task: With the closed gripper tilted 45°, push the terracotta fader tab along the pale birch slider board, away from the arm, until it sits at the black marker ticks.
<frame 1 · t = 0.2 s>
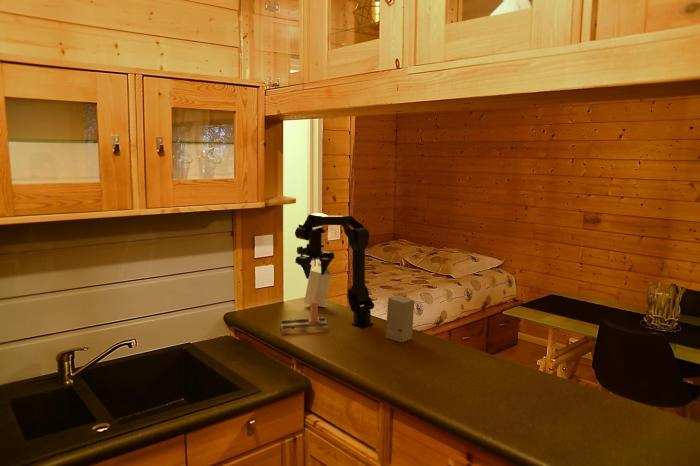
hand: (315, 276, 237), 16 cm above the worktop, tool pointing down, fingers open, 9 cm apart
fader tab: (313, 312, 216), point 7 cm above the worktop, slide at 0.0 cm
skincare box: (399, 338, 205), on the worktop
slider board: (304, 328, 216), on the worktop
milk carton: (314, 305, 245), point 1 cm above the worktop, touching gripper
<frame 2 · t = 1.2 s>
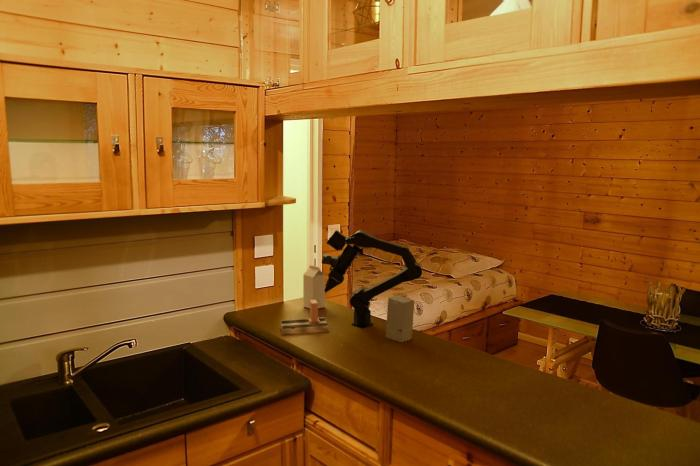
hand: (325, 288, 219), 15 cm above the worktop, tool tilted 35°, fingers open, 9 cm apart
milk carton: (314, 307, 245), on the worktop
everything else where it was.
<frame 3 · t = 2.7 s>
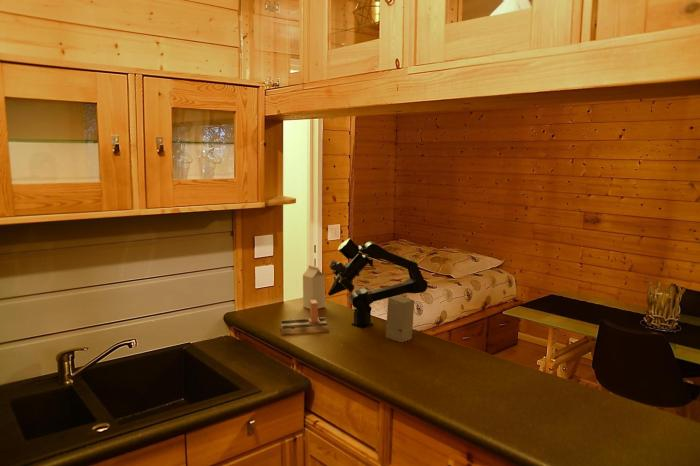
hand: (328, 294, 216), 13 cm above the worktop, tool tilted 45°, fingers closed
nothing on the worktop moved.
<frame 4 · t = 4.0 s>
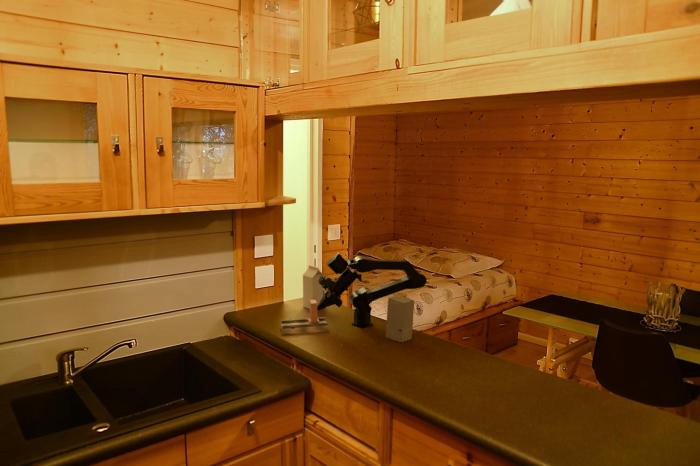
hand: (317, 309, 216), 8 cm above the worktop, tool tilted 45°, fingers closed, pressing on fader tab
fader tab: (313, 312, 216), point 7 cm above the worktop, slide at 0.2 cm, touching gripper
everything else where it was.
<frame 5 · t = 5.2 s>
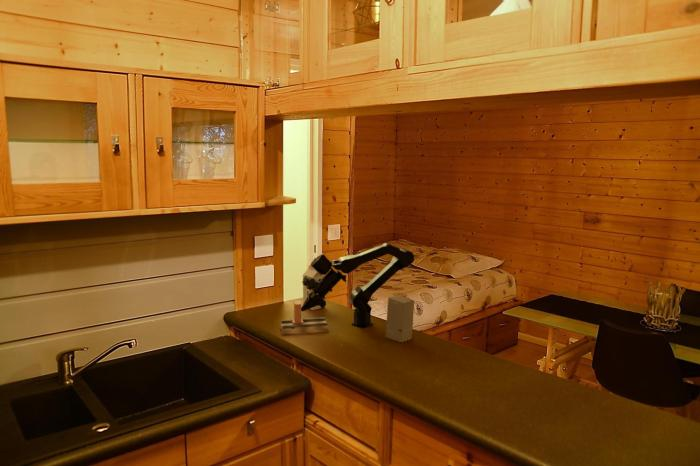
hand: (301, 310, 215), 8 cm above the worktop, tool tilted 45°, fingers closed, pressing on fader tab
fader tab: (297, 313, 215), point 7 cm above the worktop, slide at 6.6 cm, touching gripper
everything else where it was.
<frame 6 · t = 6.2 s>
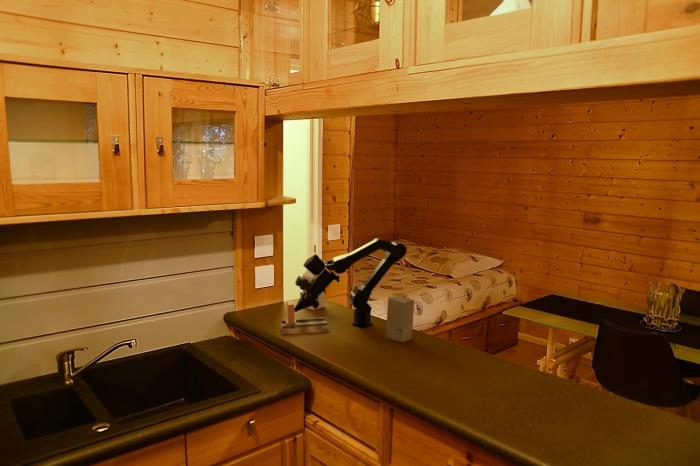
hand: (294, 311, 214), 8 cm above the worktop, tool tilted 45°, fingers closed, pressing on fader tab
fader tab: (290, 313, 214), point 7 cm above the worktop, slide at 9.3 cm, touching gripper
everything else where it was.
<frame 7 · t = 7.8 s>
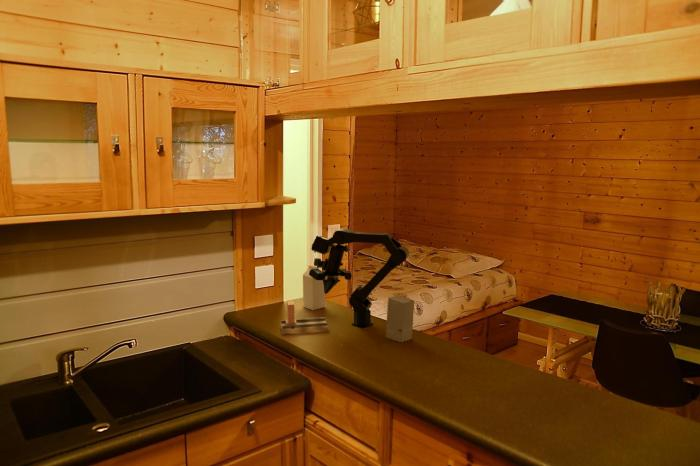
hand: (325, 293, 223), 12 cm above the worktop, tool tilted 15°, fingers closed
fader tab: (290, 313, 214), point 7 cm above the worktop, slide at 9.3 cm
everything else where it was.
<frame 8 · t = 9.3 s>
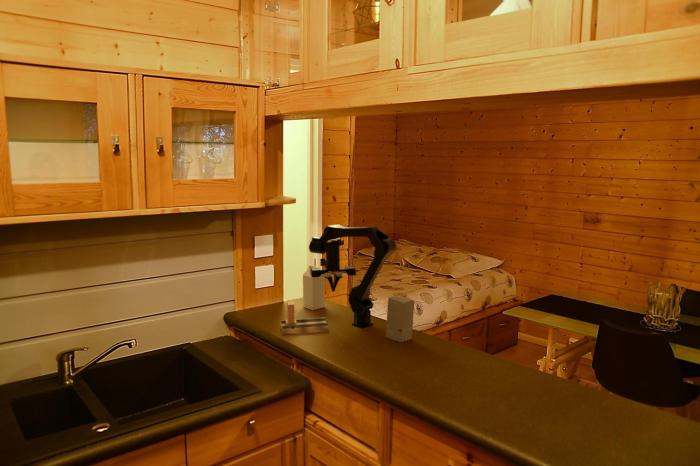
hand: (333, 291, 226), 12 cm above the worktop, tool pointing down, fingers closed
nothing on the worktop moved.
at the end: fader tab slide at 9.3 cm; milk carton moved 0.4 cm from its start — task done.
